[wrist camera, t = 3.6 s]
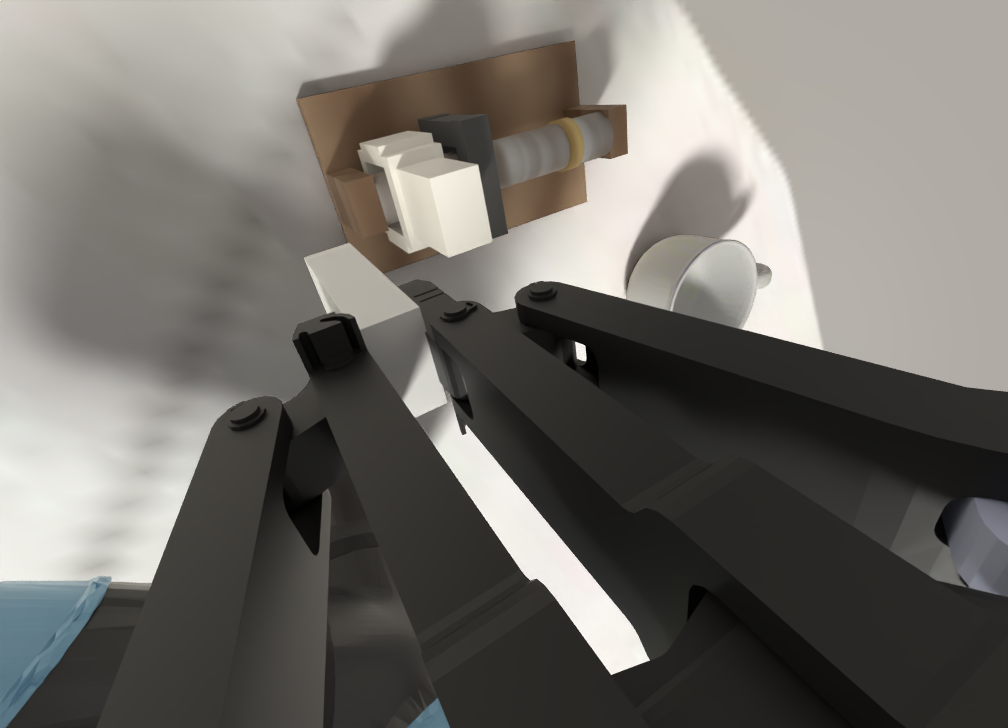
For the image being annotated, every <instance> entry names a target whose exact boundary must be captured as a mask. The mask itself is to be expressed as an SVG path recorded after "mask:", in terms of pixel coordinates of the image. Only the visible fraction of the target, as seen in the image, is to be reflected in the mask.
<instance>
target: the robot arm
mask: <svg viewBox="0 0 1008 728" xmlns="http://www.w3.org/2000/svg"><path fill="white" fill-rule="evenodd" d="M304 260H305V262H306V264H307V267H308V269H309V272H310V274H311V276H312V279H313V281H314V284H315V286H316V288H317V291H318V293H319V296H320V298H321V300H322V303H323V305H324V308H325V310H326V312H327V314H326V315H323V316H320V317H318V318H315V319H312V320H309V321H307V322H304V323H301V324H298V326H297V328H296V330H295V332H294V335H293V340H292V341H293V343H294V345H295V347H296V349H297V351H298V353H299V355H300V358H301V360H302V362H303V364H304V366H305V368H306V370H307V372H308V374H309V377H310V380H309V383H308V384H307V386H306V387H305V389H304V390H303V391H301V392H300V393H299V394H298V395H297V396H296V397H294V398H293V399H291V400H290V401H288V402H287V403H285V404H282V402H281V401H280V400H279V399H277V398H276V397H268V396H264V397H259V398H253V399H250V400H248V401H243V402H241V403H239V404H236V406H233V407H231V408H230V409H228V410H227V412H225V413H224V414H223V415H222V416H221V417H220V418H218V419H217V421H216V422H215V424H214V425H213V427H212V428H211V431H210V434H209V436H208V439H207V441H206V444H205V447H204V449H203V452H202V454H201V457H200V460H199V462H198V465H197V467H196V470H195V473H194V475H193V478H192V480H191V483H190V486H189V488H188V491H187V493H186V496H185V499H184V501H183V504H182V506H181V509H180V512H179V514H178V517H177V519H176V522H175V525H174V527H173V530H172V532H171V535H170V538H169V540H168V543H167V545H166V548H165V550H164V553H163V556H162V558H161V561H160V563H159V566H158V569H157V571H156V574H155V576H154V579H153V582H152V583H129V582H111V579H112V578H111V577H105V576H98V577H96V578H93V579H91V580H89V581H2V582H0V728H1008V392H1003V391H994V390H984V389H976V388H967V387H963V386H959V385H955V384H951V383H947V382H944V381H940V380H936V379H932V378H928V377H924V376H920V375H916V374H913V373H909V372H905V371H901V370H896V369H893V368H889V367H885V366H882V365H877V364H874V363H870V362H866V361H862V360H858V359H854V358H851V357H846V356H843V355H839V354H835V353H831V352H827V351H823V350H820V349H816V348H812V347H808V346H804V345H800V344H796V343H792V342H789V341H785V340H781V339H777V338H773V337H769V336H765V335H761V334H758V333H754V332H750V331H746V330H742V329H738V328H734V327H730V326H727V325H723V324H719V323H715V322H711V321H707V320H703V319H699V318H696V317H692V316H688V315H684V314H680V313H676V312H672V311H668V310H665V309H661V308H657V307H653V306H649V305H645V304H641V303H637V302H634V301H630V300H626V299H622V298H618V297H614V296H610V295H606V294H603V293H599V292H595V291H591V290H587V289H583V288H579V287H575V286H572V285H568V284H564V283H559V282H552V281H550V282H544V281H539V282H537V283H531V284H530V285H528V286H526V287H524V288H522V289H521V290H519V291H518V292H517V293H516V295H515V303H516V308H513V309H509V310H505V311H500V312H495V313H492V312H491V311H490V310H488V309H487V308H485V307H484V306H483V305H481V304H479V303H477V302H474V301H459V302H456V301H455V300H453V299H452V298H451V297H449V296H448V295H447V294H446V293H444V292H443V291H442V290H440V289H438V287H436V286H435V285H434V284H432V283H431V282H428V281H423V280H415V281H412V282H409V283H407V284H404V285H401V286H398V287H397V286H396V285H395V284H394V283H393V282H392V281H390V280H389V279H388V278H387V277H386V276H385V275H384V274H383V273H382V272H381V271H380V270H378V269H377V268H376V267H375V266H374V265H373V264H372V263H371V262H370V261H369V260H367V259H366V258H365V257H364V256H363V255H362V254H361V253H360V252H359V251H358V250H357V249H355V248H354V247H353V246H352V245H351V244H350V243H347V244H344V245H341V246H337V247H334V248H331V249H328V250H325V251H322V252H319V253H316V254H313V255H309V256H306V257H304ZM575 342H578V343H581V344H584V345H585V346H586V356H587V359H586V362H585V361H581V360H579V359H577V356H576V346H575ZM443 386H444V387H445V389H446V390H447V391H448V392H449V393H450V396H451V399H452V403H453V406H454V409H455V413H456V416H457V420H458V423H459V427H460V430H461V433H462V435H464V434H466V430H465V425H467V426H468V427H469V428H470V430H471V431H472V432H473V433H474V434H475V436H476V437H477V438H478V439H479V440H480V442H481V443H482V444H483V445H484V446H485V448H486V449H487V450H488V451H489V452H490V454H491V455H492V456H493V457H494V458H495V460H496V461H497V462H498V463H499V464H500V466H501V467H502V468H503V469H504V471H505V472H506V473H507V474H508V475H509V477H510V478H511V479H512V480H513V481H514V483H515V484H516V485H517V486H518V487H519V489H520V490H521V491H522V492H523V493H524V495H525V496H526V497H527V498H528V499H529V501H530V502H531V503H532V504H533V505H534V507H535V508H536V509H537V510H538V511H539V513H540V514H541V515H542V516H543V518H544V519H545V520H546V521H547V522H548V524H549V525H550V526H551V527H552V528H553V530H554V531H555V532H556V533H557V534H558V536H559V537H560V538H561V539H562V540H563V542H564V543H565V544H566V545H567V546H568V548H569V549H570V550H571V551H572V552H573V554H574V555H575V556H576V557H577V558H578V560H579V561H580V562H581V563H582V565H583V566H584V567H585V568H586V569H587V571H588V572H589V573H590V574H591V575H592V577H593V578H594V579H595V580H596V581H597V583H598V584H599V585H600V586H601V587H602V589H603V590H604V591H605V592H606V593H607V595H608V596H609V597H610V598H611V599H612V601H613V602H614V603H615V604H616V605H617V607H618V608H619V609H620V610H621V612H622V613H623V614H624V615H625V616H626V618H627V619H628V620H629V622H630V623H631V624H632V626H633V627H634V629H635V630H636V632H637V634H638V636H639V638H640V640H641V642H642V645H643V647H644V649H645V651H646V654H647V656H648V657H649V659H650V661H647V662H645V663H642V664H639V665H637V666H634V667H631V668H629V669H626V670H623V671H621V672H618V673H615V674H613V675H611V674H610V673H609V672H608V670H607V669H606V667H605V666H604V665H603V663H602V662H601V661H600V659H599V658H598V656H597V655H596V654H595V652H594V651H593V650H592V648H591V647H590V645H589V644H588V643H587V641H586V640H585V639H584V637H583V636H582V634H581V633H580V632H579V630H578V629H577V628H576V626H575V625H574V623H573V622H572V621H571V619H570V618H569V617H568V615H567V614H566V612H565V611H564V610H563V608H562V607H561V605H560V604H559V603H558V601H557V600H556V599H555V597H554V596H553V595H552V594H551V593H550V591H549V590H548V589H547V588H546V586H545V585H544V584H542V583H541V582H540V581H539V580H537V579H534V580H531V581H530V580H529V579H528V578H527V577H526V576H525V575H524V574H523V572H522V571H521V570H520V568H519V567H518V565H517V564H516V563H515V561H514V560H513V558H512V557H511V555H510V554H509V553H508V551H507V550H506V548H505V547H504V545H503V544H502V542H501V541H500V540H499V538H498V537H497V535H496V534H495V532H494V531H493V530H492V528H491V527H490V525H489V524H488V522H487V521H486V519H485V518H484V517H483V515H482V514H481V512H480V511H479V509H478V508H477V507H476V505H475V504H474V502H473V501H472V499H471V498H470V496H469V495H468V494H467V492H466V491H465V489H464V488H463V486H462V485H461V484H460V482H459V481H458V479H457V478H456V476H455V475H454V473H453V472H452V471H451V469H450V468H449V466H448V465H447V463H446V462H445V461H444V459H443V458H442V456H441V455H440V453H439V452H438V450H437V449H436V448H435V446H434V445H433V443H432V442H431V440H430V439H429V438H428V436H427V435H426V433H425V432H424V430H423V429H422V427H421V426H420V425H419V423H418V422H417V420H416V419H415V418H416V417H418V416H420V415H422V414H425V413H427V412H429V411H431V410H433V409H435V408H437V407H440V406H442V405H444V404H446V403H448V402H447V399H446V395H445V392H444V388H443Z"/></svg>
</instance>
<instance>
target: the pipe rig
mask: <svg viewBox="0 0 1008 728" xmlns="http://www.w3.org/2000/svg"><path fill="white" fill-rule="evenodd" d="M296 100H297V103H298V106H299V108H300V111H301V114H302V117H303V120H304V122H305V125H306V128H307V131H308V134H309V136H310V139H311V142H312V145H313V147H314V150H315V153H316V156H317V159H318V161H319V164H320V167H321V170H322V173H323V175H324V178H325V181H326V184H327V187H328V189H329V192H330V195H331V198H332V200H333V203H334V206H335V209H336V212H337V214H338V217H339V220H340V223H341V226H342V228H343V231H344V234H345V237H346V240H347V242H348V243H350V244H351V245H352V246H353V247H354V248H355V249H357V250H358V251H359V252H360V253H361V254H362V255H363V256H364V257H365V258H366V259H367V260H369V261H370V262H371V263H372V264H373V265H374V266H375V267H376V268H377V269H378V270H380V271H381V272H382V273H386V272H389V271H392V270H394V269H397V268H400V267H403V266H406V265H409V264H411V263H414V262H417V261H420V260H423V259H426V258H428V257H431V256H434V255H437V254H440V252H438V251H436V250H435V249H433V248H431V247H427V248H424V249H421V250H418V251H415V252H412V253H410V254H409V253H407V252H406V251H404V250H403V249H401V248H400V247H398V246H397V245H395V244H394V243H392V242H391V241H389V238H388V235H387V233H386V231H389V229H388V225H389V224H392V223H395V222H398V221H399V218H398V215H397V211H396V208H395V204H394V201H393V197H392V194H391V191H390V187H389V184H388V180H387V177H386V173H385V170H384V171H381V172H377V173H374V174H367V173H364V170H363V167H362V164H361V161H360V158H359V155H358V151H357V150H361V148H360V145H359V143H362V142H366V141H370V140H374V139H378V138H382V137H386V136H390V135H393V134H397V133H401V132H405V131H415V132H420V128H419V124H418V120H417V119H421V118H425V117H429V116H433V115H437V114H450V115H475V114H488V118H489V124H490V130H491V136H492V142H493V148H494V154H495V159H496V165H497V171H498V177H499V183H500V189H501V195H502V201H503V206H504V212H505V218H506V224H507V230H508V229H511V228H513V227H516V226H519V225H522V224H525V223H528V222H530V221H533V220H536V219H539V218H542V217H545V216H547V215H550V214H553V213H556V212H559V211H562V210H564V209H567V208H570V207H573V206H576V205H579V204H581V203H584V202H587V196H586V183H585V170H584V162H587V161H590V160H593V159H596V158H607V159H612V158H615V157H618V156H621V155H624V154H627V153H628V146H627V112H626V105H580V104H579V91H578V78H577V65H576V52H575V41H570V42H565V43H560V44H555V45H550V46H546V47H541V48H536V49H532V50H527V51H522V52H517V53H513V54H508V55H503V56H498V57H494V58H489V59H484V60H479V61H475V62H470V63H465V64H460V65H456V66H451V67H446V68H442V69H437V70H432V71H427V72H423V73H418V74H413V75H408V76H404V77H399V78H394V79H389V80H385V81H380V82H375V83H370V84H366V85H361V86H356V87H351V88H347V89H342V90H337V91H333V92H328V93H323V94H318V95H314V96H309V97H304V98H299V99H296ZM443 155H444V158H447V159H452V160H457V161H459V160H458V155H457V150H456V151H453V152H449V153H446V154H443Z"/></svg>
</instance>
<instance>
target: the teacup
mask: <svg viewBox="0 0 1008 728" xmlns="http://www.w3.org/2000/svg"><path fill="white" fill-rule="evenodd" d="M771 276H772V273H771V269H770V268H769V267H768V266H766V265H763V264H760V263H755V259H754V256H753V254H752V253H751V251H750V250H749V248H748V247H747V246H746V245H744V244H743V243H741V242H739V241H736V240H722V239H716V238H710V237H704V236H696V235H676V236H671V237H668V238H665V239H663V240H661V241H659V242H657V243H656V244H654V245H653V246H652V247H651V248H649V249H648V250H647V251H646V252H645V253H644V255H643V256H642V257H641V258H640V260H639V261H638V263H637V264H636V266H635V268H634V270H633V272H632V275H631V277H630V280H629V284H628V289H627V300H630V301H634V302H637V303H641V304H645V305H649V306H653V307H657V308H661V309H665V310H668V311H672V312H676V313H680V314H684V315H688V316H692V317H696V318H699V319H703V320H707V321H711V322H715V323H719V324H723V325H727V326H730V327H734V328H738V329H742V328H743V326H744V324H745V322H746V320H747V319H748V317H749V314H750V311H751V309H752V306H753V302H754V298H755V295H756V289H760V288H763V287H766V286H767V285H768V284H769V283H770V281H771Z"/></svg>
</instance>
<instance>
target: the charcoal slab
mask: <svg viewBox="0 0 1008 728" xmlns="http://www.w3.org/2000/svg"><path fill="white" fill-rule="evenodd" d="M417 120H418V124H419V128H420V132H426V133H432V137H433V141H434V142H436V143H441V146H442V150H443V154H446V153H449V152H453V151H456V150H457V155H458V160H459V161H462V162H468V163H473V164H478V167H479V172H480V177H481V183H482V188H483V193H484V199H485V204H486V209H487V214H488V220H489V225H490V230H491V236H492V239H493V238H496V237H499V236H502V235H504V234H507V233H508V230H507V224H506V218H505V212H504V206H503V201H502V195H501V189H500V183H499V177H498V171H497V165H496V159H495V154H494V148H493V142H492V136H491V130H490V124H489V118H488V114H475V115H450V114H437V115H433V116H429V117H425V118H421V119H417Z"/></svg>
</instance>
